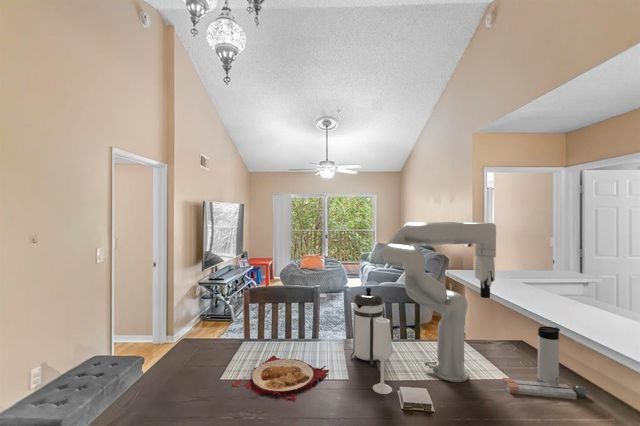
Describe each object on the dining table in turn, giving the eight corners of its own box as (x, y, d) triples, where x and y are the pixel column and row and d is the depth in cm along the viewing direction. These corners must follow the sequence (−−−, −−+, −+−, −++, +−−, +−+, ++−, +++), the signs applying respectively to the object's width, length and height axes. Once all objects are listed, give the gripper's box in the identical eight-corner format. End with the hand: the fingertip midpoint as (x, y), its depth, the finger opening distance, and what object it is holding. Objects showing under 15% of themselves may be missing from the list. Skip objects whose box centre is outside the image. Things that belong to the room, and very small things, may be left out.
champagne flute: (379, 381, 118) (380, 315, 118) (395, 388, 114) (396, 320, 114) (368, 388, 114) (369, 320, 114) (384, 396, 109) (385, 325, 109)
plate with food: (273, 360, 137) (273, 351, 137) (329, 373, 124) (329, 364, 124) (231, 388, 115) (231, 378, 115) (294, 408, 103) (294, 397, 103)
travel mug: (563, 387, 115) (563, 331, 115) (542, 385, 116) (542, 330, 116) (554, 378, 121) (554, 325, 121) (534, 377, 122) (535, 324, 122)
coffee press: (392, 367, 129) (392, 292, 129) (351, 366, 130) (352, 291, 130) (384, 348, 147) (384, 282, 147) (348, 348, 147) (349, 282, 147)
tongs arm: (571, 395, 110) (571, 388, 110) (576, 399, 108) (576, 392, 108) (506, 388, 114) (506, 382, 114) (509, 393, 111) (509, 386, 111)
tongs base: (579, 390, 113) (579, 382, 113) (588, 398, 108) (589, 390, 108) (502, 384, 117) (502, 376, 117) (508, 391, 112) (508, 383, 112)
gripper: (470, 250, 141) (470, 292, 141) (481, 254, 126) (481, 301, 127) (488, 250, 140) (488, 293, 140) (502, 255, 125) (502, 302, 125)
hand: (485, 297), depth 133 cm, fingers closed
